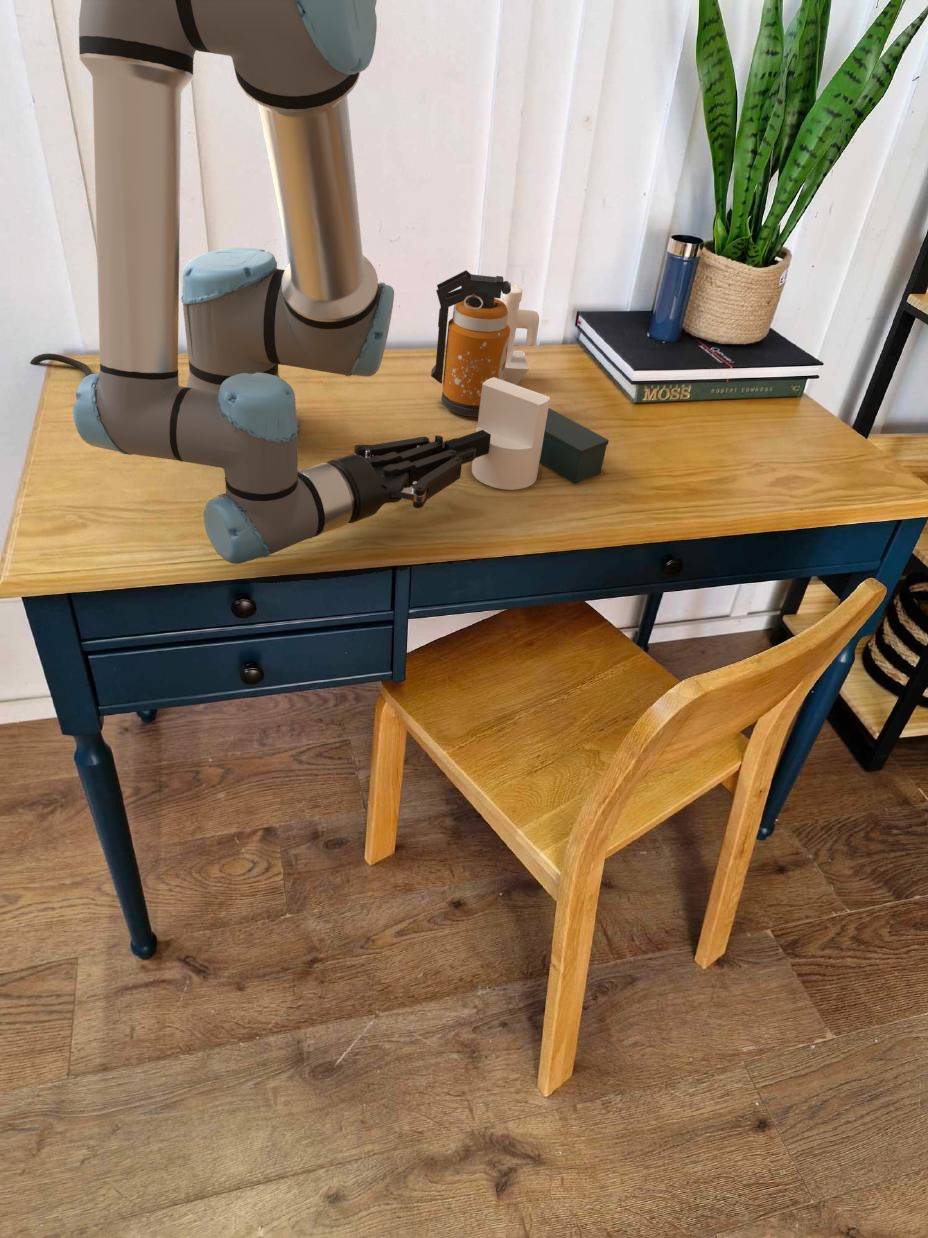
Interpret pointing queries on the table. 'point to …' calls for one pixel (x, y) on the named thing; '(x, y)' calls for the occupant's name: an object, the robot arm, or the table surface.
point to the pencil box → (571, 448)
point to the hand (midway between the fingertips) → (485, 441)
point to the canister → (471, 339)
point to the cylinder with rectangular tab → (510, 434)
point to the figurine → (516, 319)
